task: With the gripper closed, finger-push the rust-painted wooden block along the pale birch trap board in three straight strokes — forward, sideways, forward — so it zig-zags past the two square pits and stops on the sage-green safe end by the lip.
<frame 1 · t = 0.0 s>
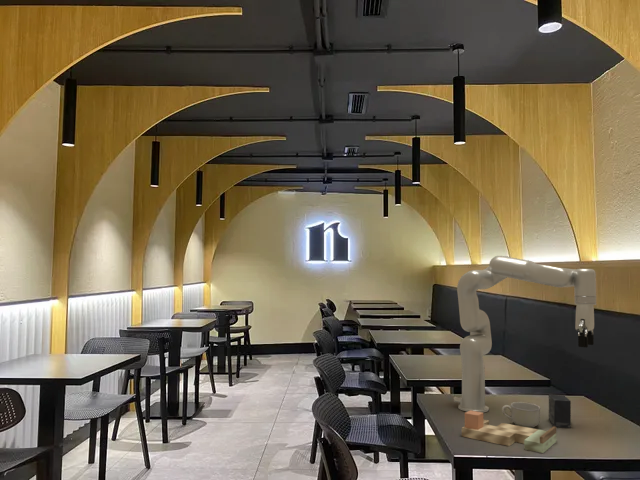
hand: (586, 345, 206), 31 cm above the table, fingers open, 9 cm apart
small box: (559, 424, 210), on the table
trap board: (508, 438, 191), on the table
block: (474, 426, 195), point 3 cm above the table, touching trap board
teacup: (521, 426, 208), on the table
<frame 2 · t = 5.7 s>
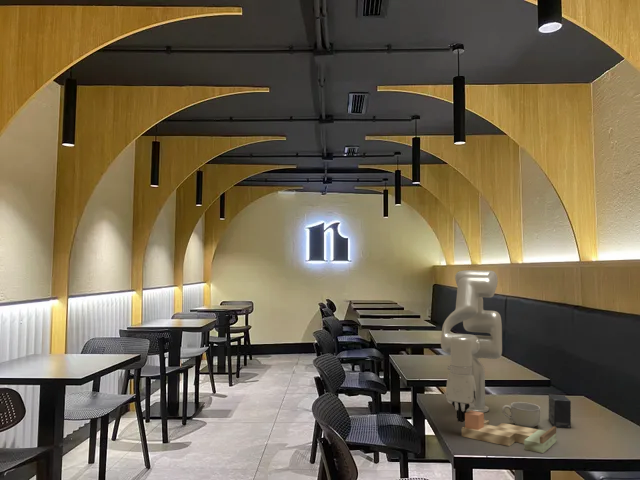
hand: (461, 421, 198), 4 cm above the table, fingers closed
block: (474, 427, 194), point 3 cm above the table, touching gripper
everything else where it was.
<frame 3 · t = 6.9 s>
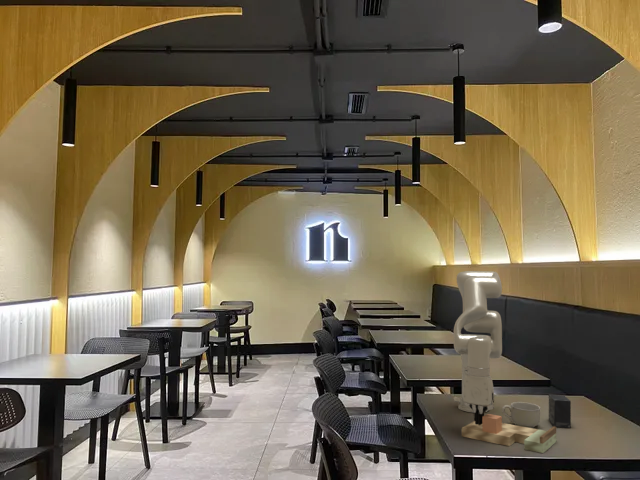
hand: (479, 423, 193), 5 cm above the table, fingers closed
block: (492, 430, 190), point 3 cm above the table, touching gripper
everything else where it was.
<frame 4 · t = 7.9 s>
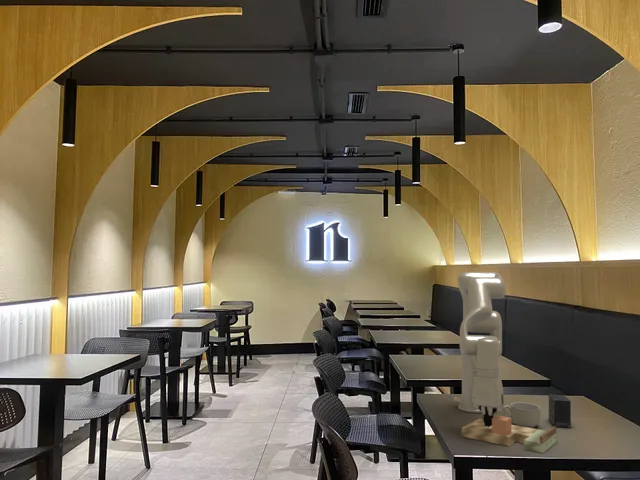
hand: (488, 425, 191), 4 cm above the table, fingers closed
block: (501, 432, 188), point 3 cm above the table, touching gripper, trap board
everything else where it was.
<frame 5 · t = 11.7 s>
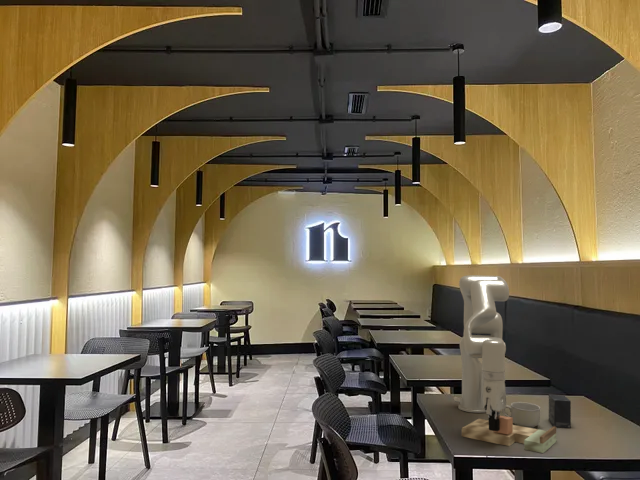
hand: (494, 430, 185), 5 cm above the table, fingers closed
block: (502, 432, 188), point 3 cm above the table, tilted 5°, touching gripper, trap board
everything else where it was.
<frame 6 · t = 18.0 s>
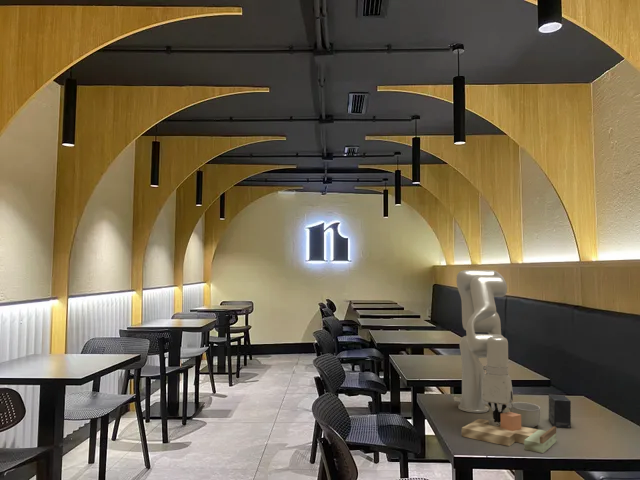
hand: (498, 421, 197), 4 cm above the table, fingers closed
block: (510, 428, 193), point 3 cm above the table, touching gripper
everything else where it was.
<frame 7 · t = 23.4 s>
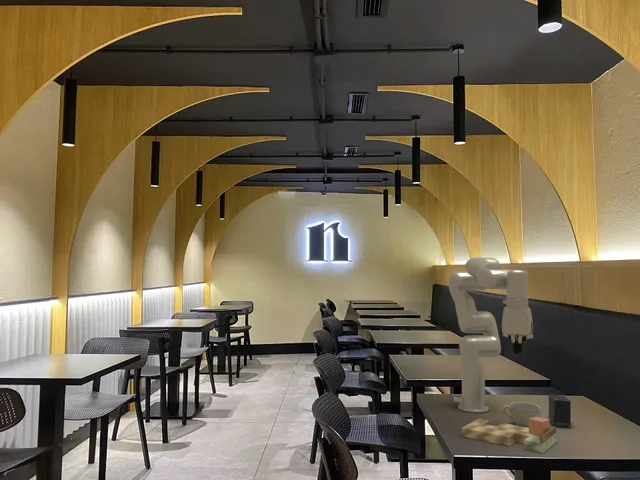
hand: (517, 353, 198), 29 cm above the table, fingers closed
block: (539, 433, 187), point 3 cm above the table, touching trap board
everything else where it was.
at the end: block inside the target area on the trap board (1.1 cm from its centre), point 3.0 cm above the trap board's base; block tilted 0° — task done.
